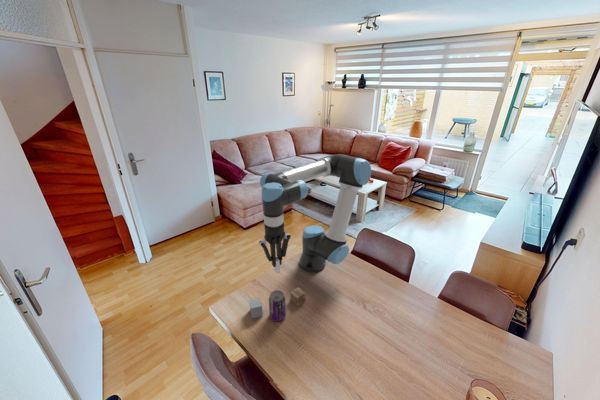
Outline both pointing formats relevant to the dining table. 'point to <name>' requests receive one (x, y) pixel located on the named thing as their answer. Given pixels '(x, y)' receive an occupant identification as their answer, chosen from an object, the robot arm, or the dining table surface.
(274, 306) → the beverage can
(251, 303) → the slate block
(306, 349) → the dining table surface
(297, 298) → the walnut block
